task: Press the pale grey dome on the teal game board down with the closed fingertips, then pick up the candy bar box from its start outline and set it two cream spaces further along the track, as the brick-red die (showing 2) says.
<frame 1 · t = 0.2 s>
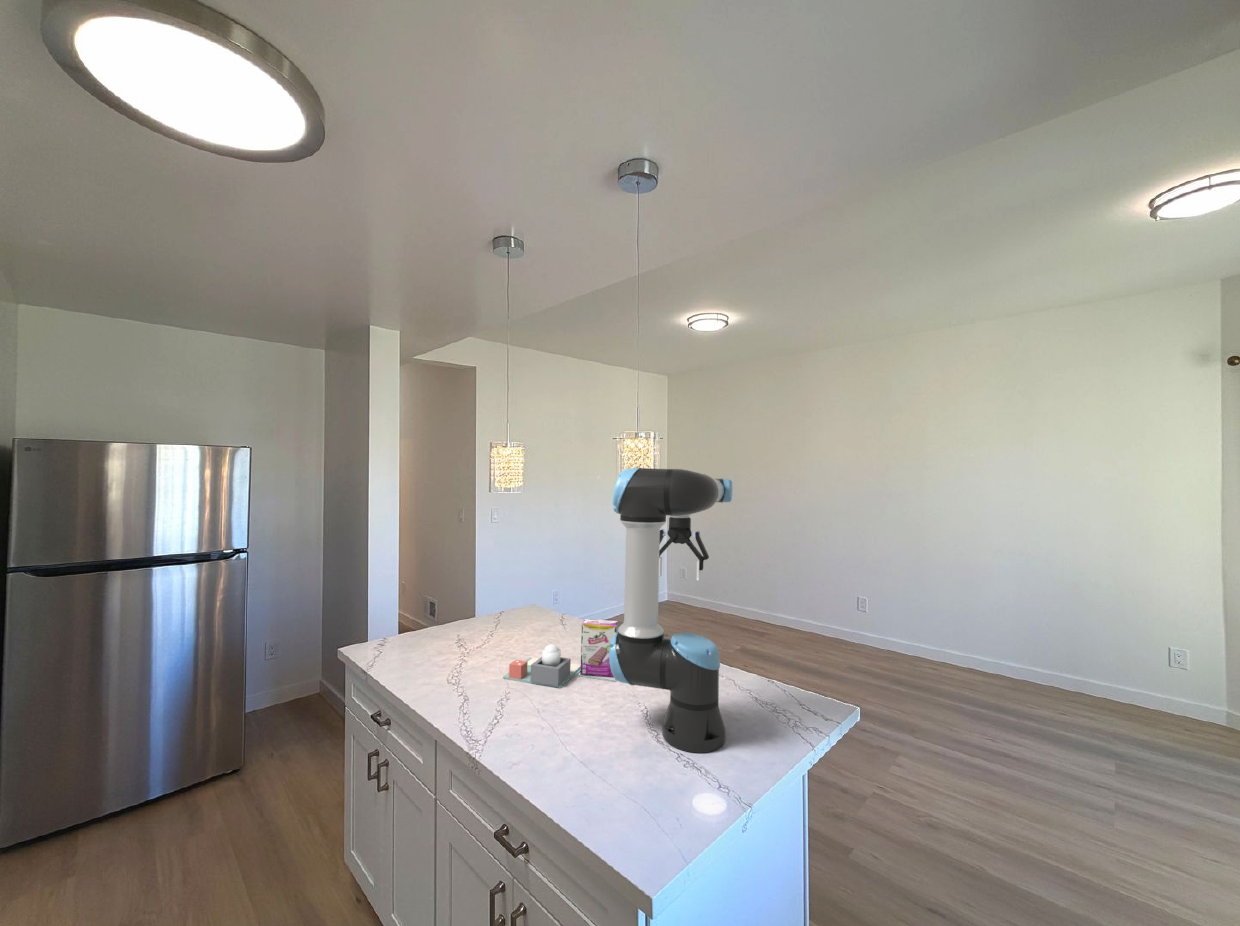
hand: (678, 578, 172), 28 cm above the worktop, fingers open, 13 cm apart
dome plunger: (551, 654, 151), point 8 cm above the worktop, slide at 0.0 cm
candy bar box: (598, 674, 157), on the worktop, touching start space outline
game board: (543, 672, 157), on the worktop
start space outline: (598, 673, 157), on the worktop
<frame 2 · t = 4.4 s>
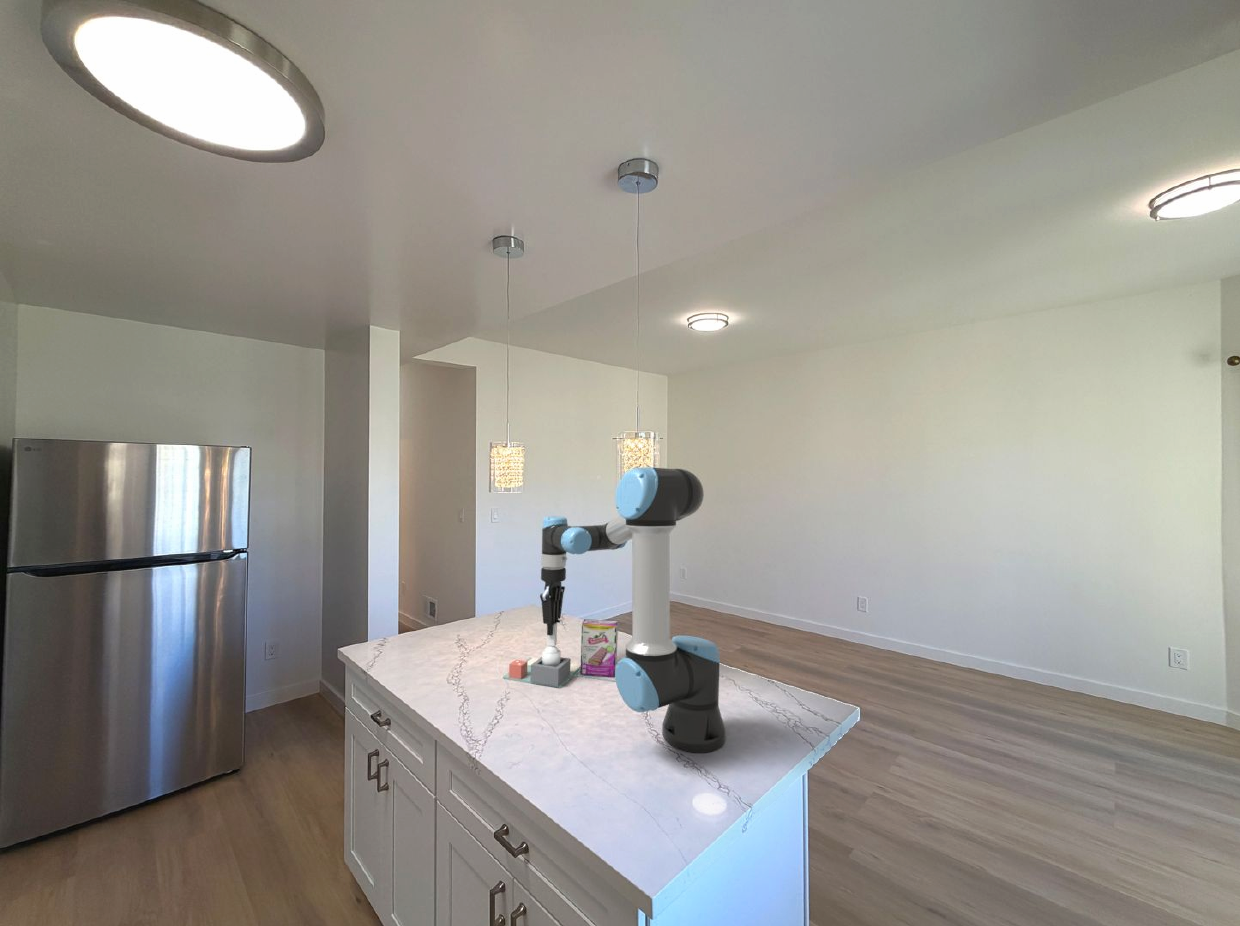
hand: (551, 644, 151), 11 cm above the worktop, fingers closed
dome plunger: (551, 655, 151), point 7 cm above the worktop, slide at 0.4 cm, touching gripper
everything else where it was.
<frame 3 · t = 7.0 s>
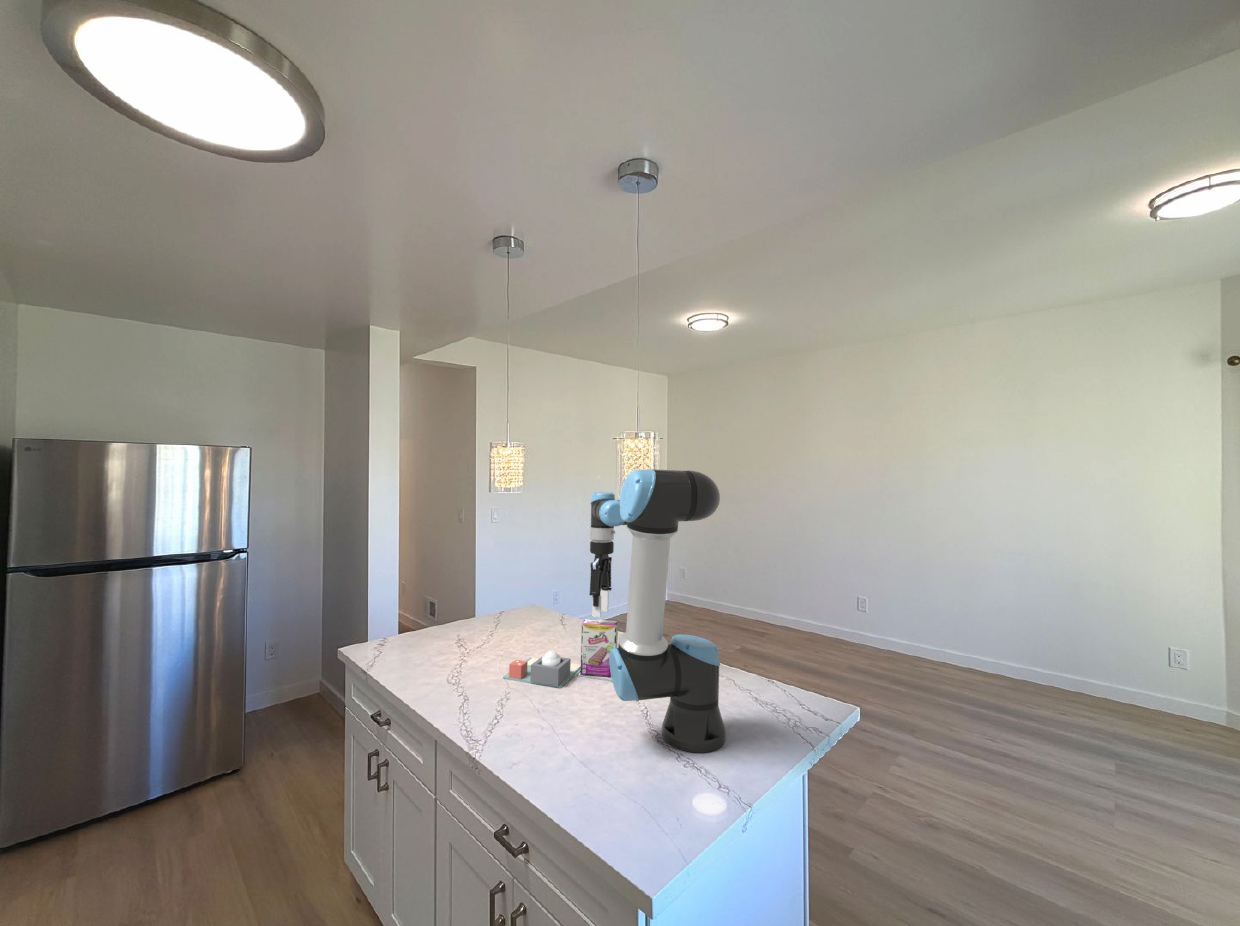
hand: (600, 613, 157), 19 cm above the worktop, fingers open, 6 cm apart
dome plunger: (551, 661, 151), point 6 cm above the worktop, slide at 2.0 cm
everything else where it was.
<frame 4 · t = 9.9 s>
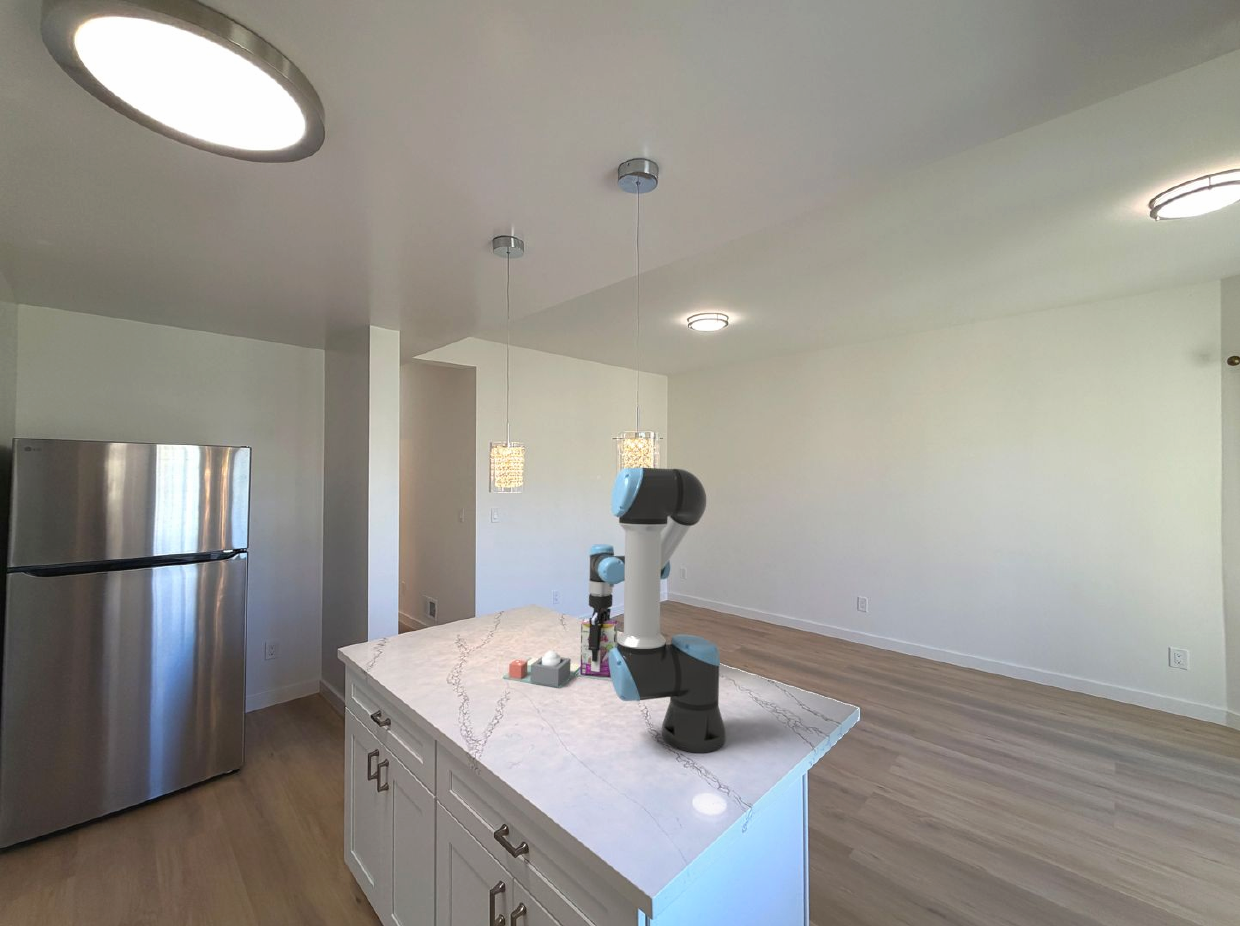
hand: (598, 667, 157), 2 cm above the worktop, fingers closed on candy bar box, 6 cm apart
candy bar box: (598, 674, 157), on the worktop, touching gripper
everything else where it was.
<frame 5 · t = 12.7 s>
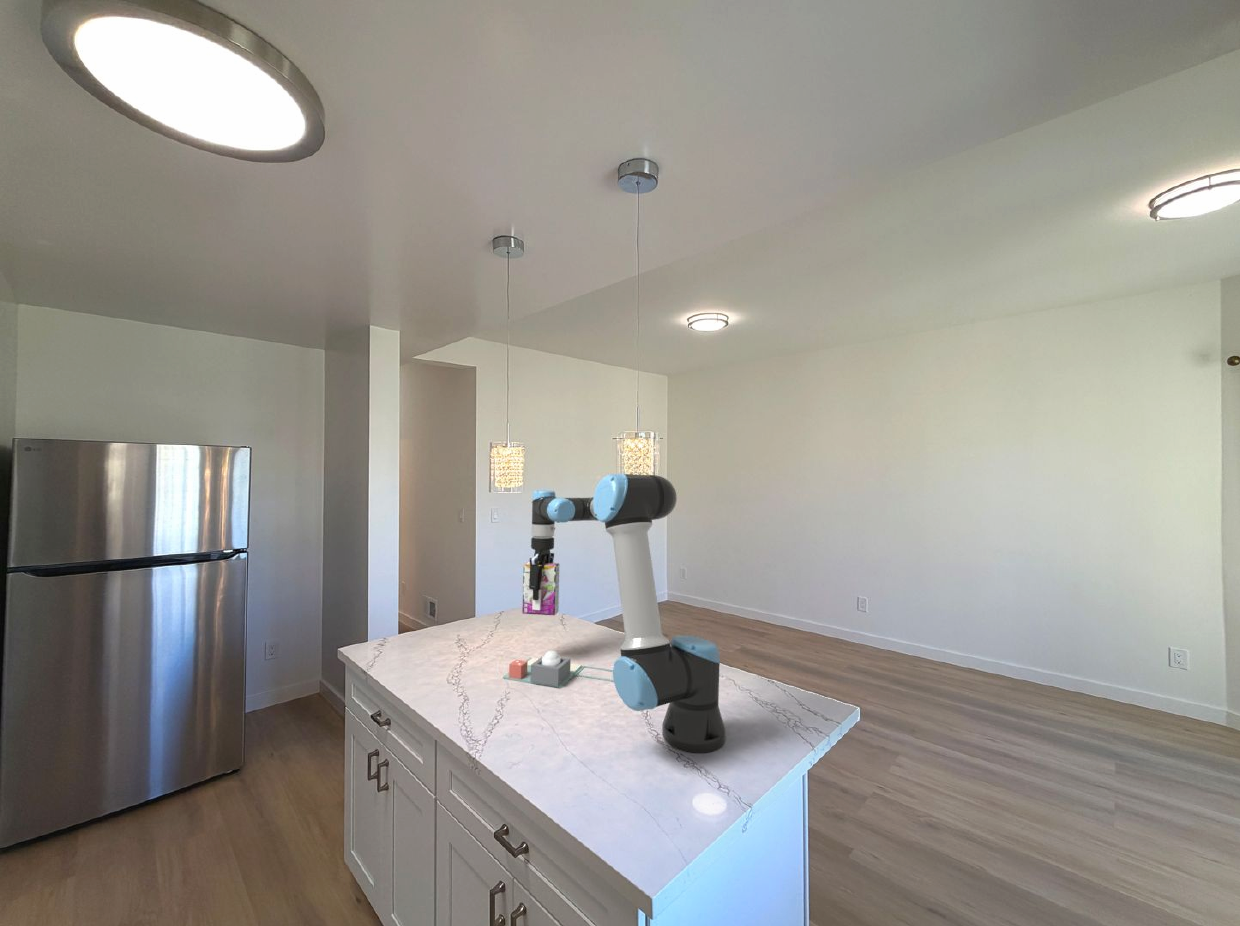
hand: (540, 607, 164), 19 cm above the worktop, fingers closed on candy bar box, 5 cm apart
candy bar box: (540, 613, 164), point 17 cm above the worktop, touching gripper
everything else where it was.
when the fingers open (3 cm above the worktop, at t = 15.8 s): candy bar box stays where it is, resting on game board.
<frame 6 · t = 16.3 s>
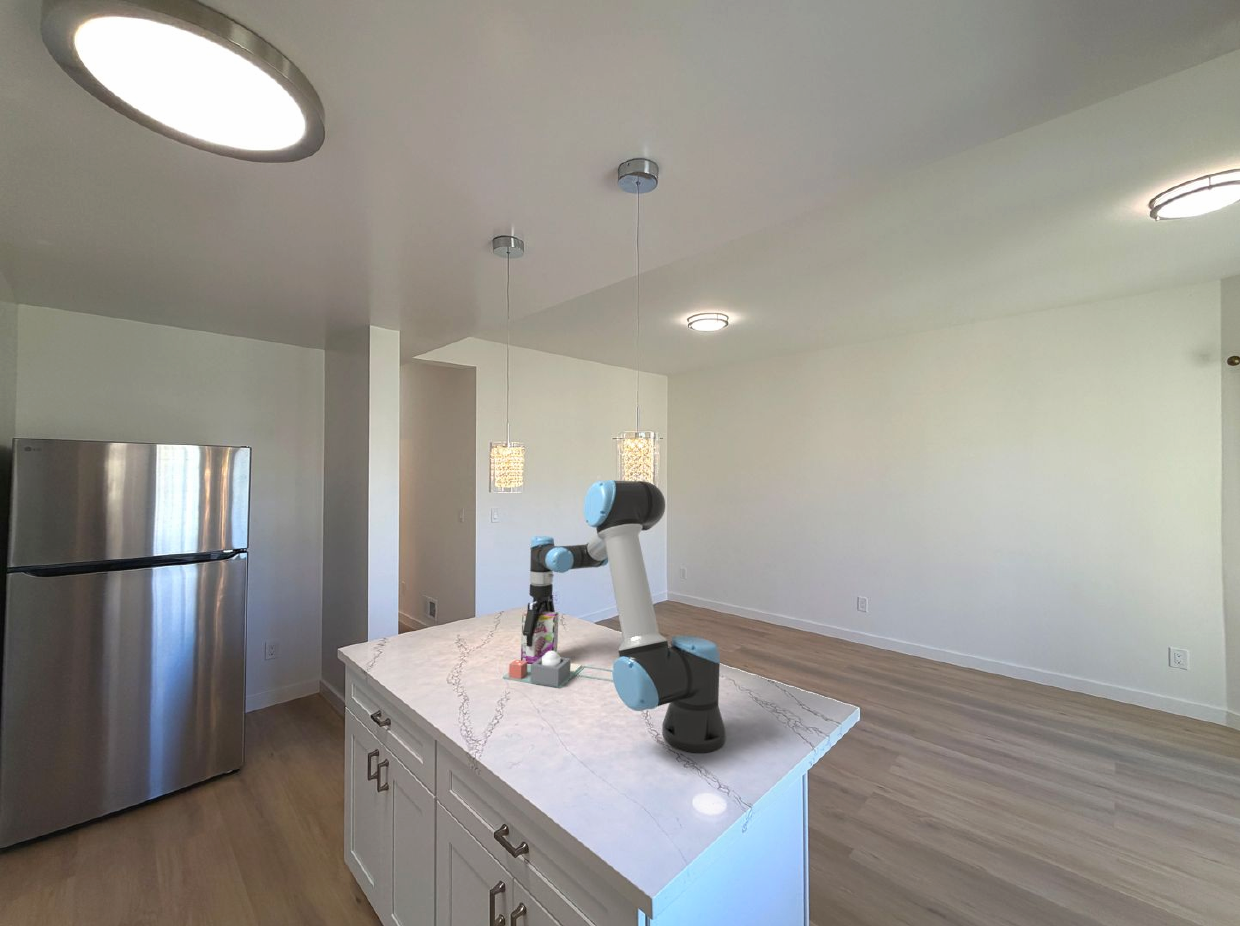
hand: (539, 649, 163), 5 cm above the worktop, fingers open, 12 cm apart
candy bar box: (539, 663, 163), point 1 cm above the worktop, touching game board
everything else where it was.
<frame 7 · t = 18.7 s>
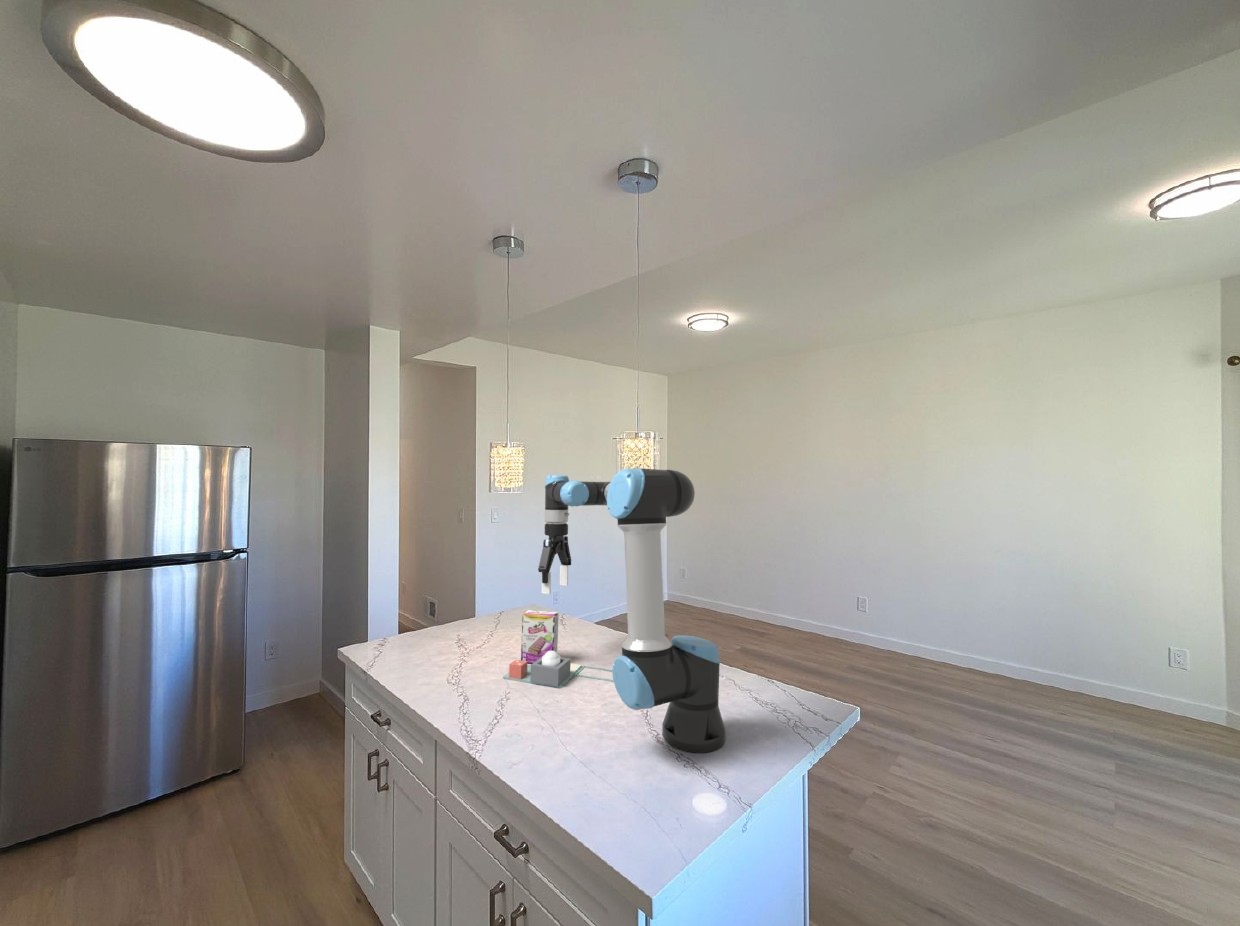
hand: (555, 589, 159), 26 cm above the worktop, fingers open, 13 cm apart
nothing on the worktop moved.
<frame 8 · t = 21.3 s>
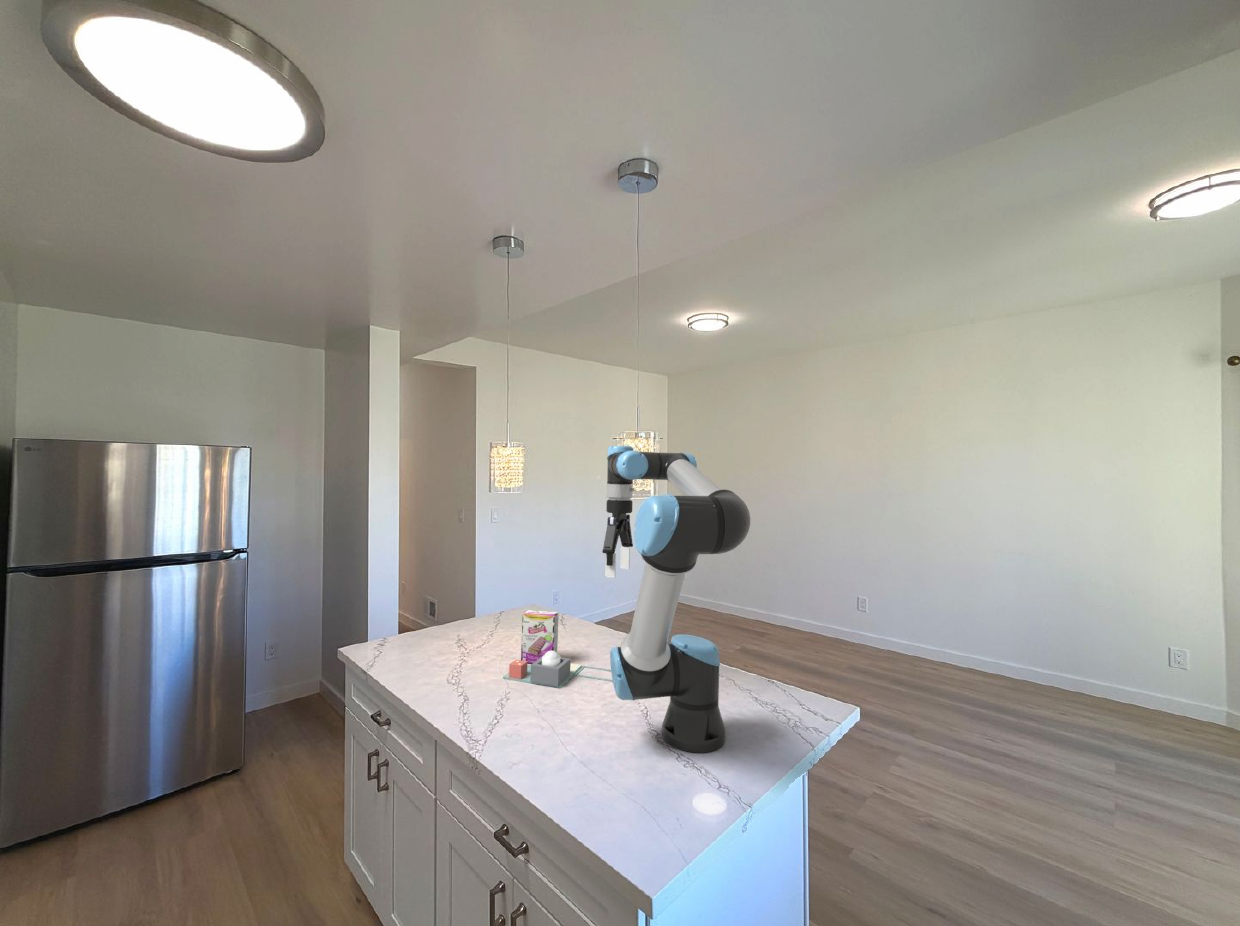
hand: (617, 572, 143), 35 cm above the worktop, fingers open, 13 cm apart
nothing on the worktop moved.
at the end: candy bar box inside the target area (0.4 cm from its centre), point 0.5 cm above the worktop; candy bar box tilted 0°; dome plunger slide at 2.0 cm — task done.
